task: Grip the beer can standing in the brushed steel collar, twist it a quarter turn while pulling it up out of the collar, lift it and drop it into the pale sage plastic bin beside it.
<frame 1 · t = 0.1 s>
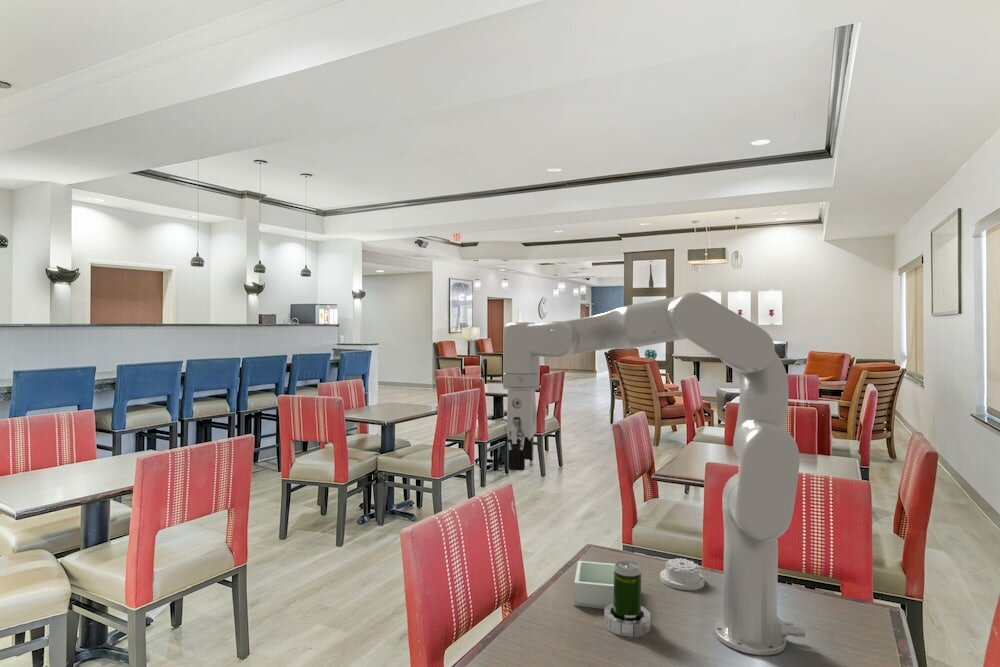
hand: (520, 464, 121), 31 cm above the table, tool pointing down, fingers open, 9 cm apart
collar: (627, 625, 117), on the table
bin: (603, 595, 130), on the table
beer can: (626, 626, 117), resting in collar
mechanical component: (682, 583, 138), on the table
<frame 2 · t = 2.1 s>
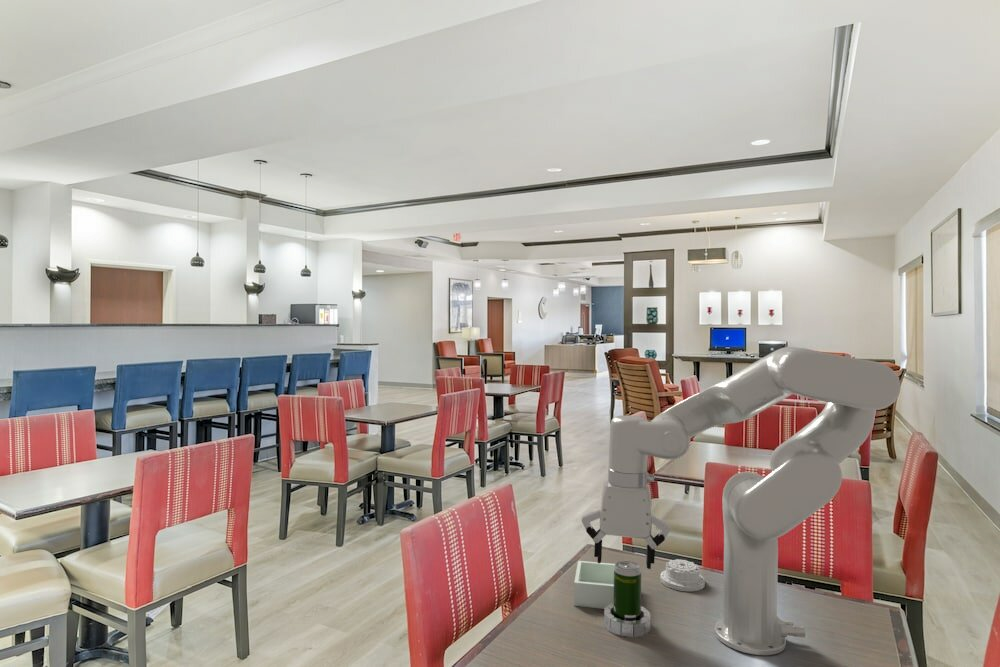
hand: (623, 563, 117), 12 cm above the table, tool pointing down, fingers open, 9 cm apart
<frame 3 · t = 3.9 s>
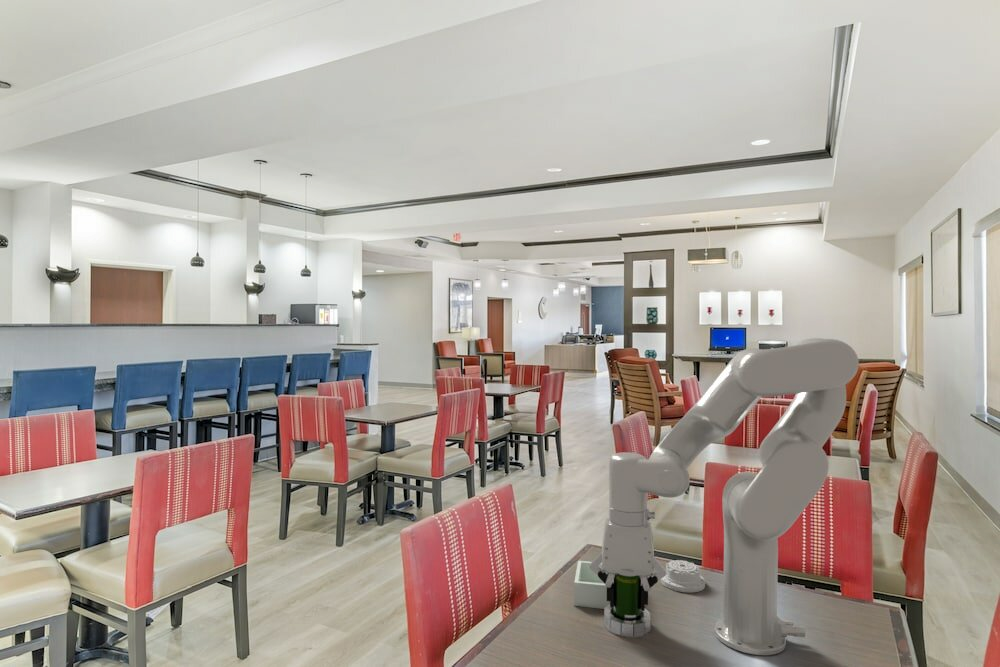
hand: (627, 605, 117), 4 cm above the table, tool pointing down, fingers closed on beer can, 5 cm apart
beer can: (626, 626, 117), resting in collar, touching gripper
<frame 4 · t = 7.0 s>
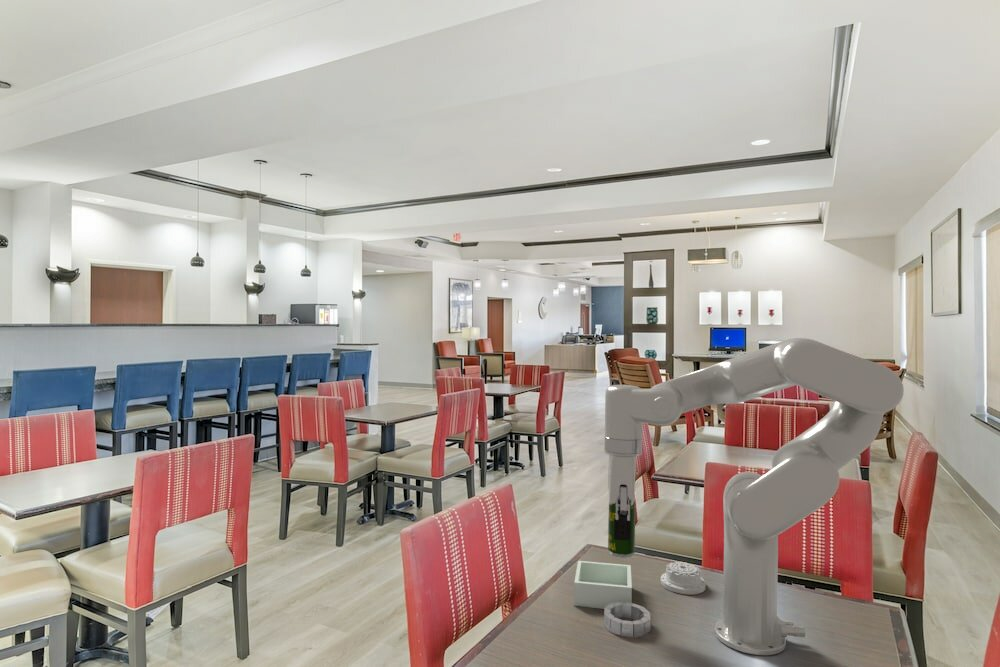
hand: (621, 533, 119), 18 cm above the table, tool pointing down, fingers closed on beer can, 5 cm apart
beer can: (621, 554, 119), point 13 cm above the table, touching gripper
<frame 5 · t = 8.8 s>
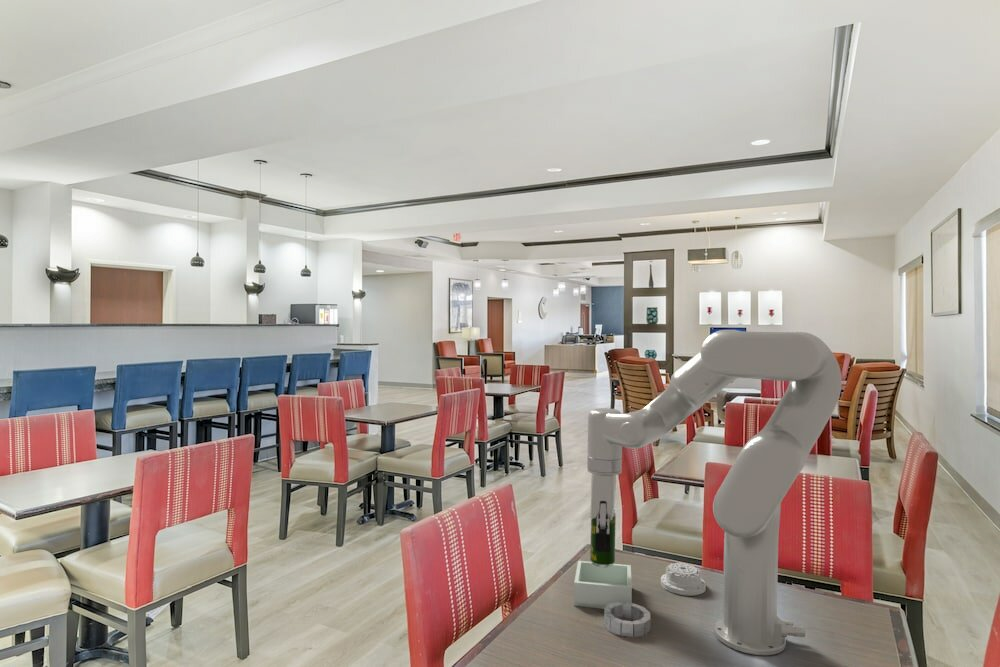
hand: (603, 545, 130), 11 cm above the table, tool pointing down, fingers closed on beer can, 5 cm apart
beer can: (602, 564, 130), point 7 cm above the table, touching gripper
when the fingers open (7 cm above the table, at t = 10.4 s): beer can drops 2 cm, resting on bin.
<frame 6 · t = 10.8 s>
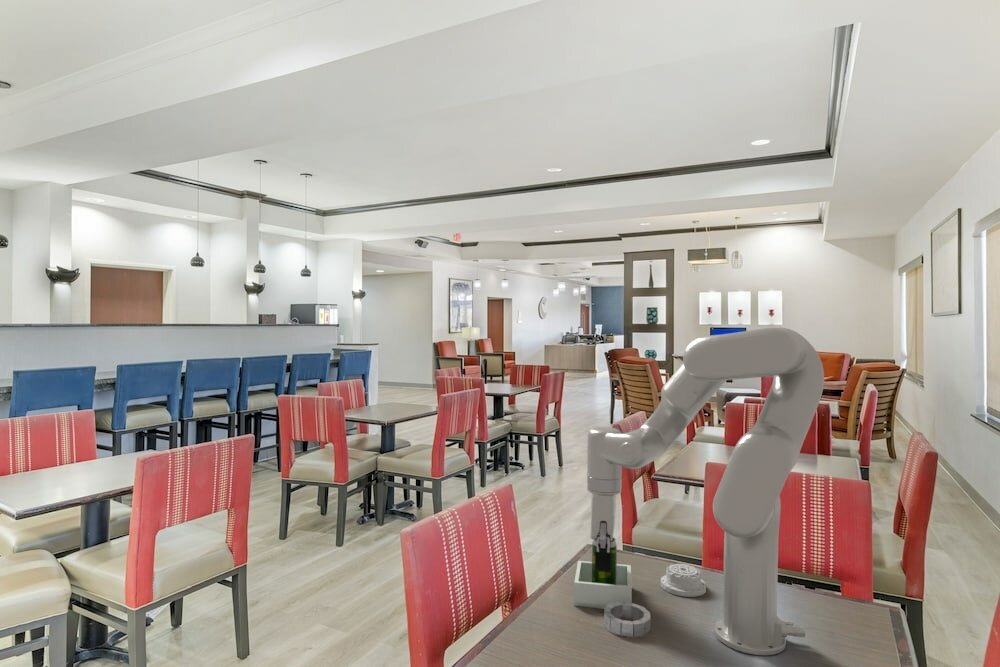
hand: (603, 561, 130), 8 cm above the table, tool pointing down, fingers open, 9 cm apart
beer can: (604, 594, 129), point 1 cm above the table, touching bin
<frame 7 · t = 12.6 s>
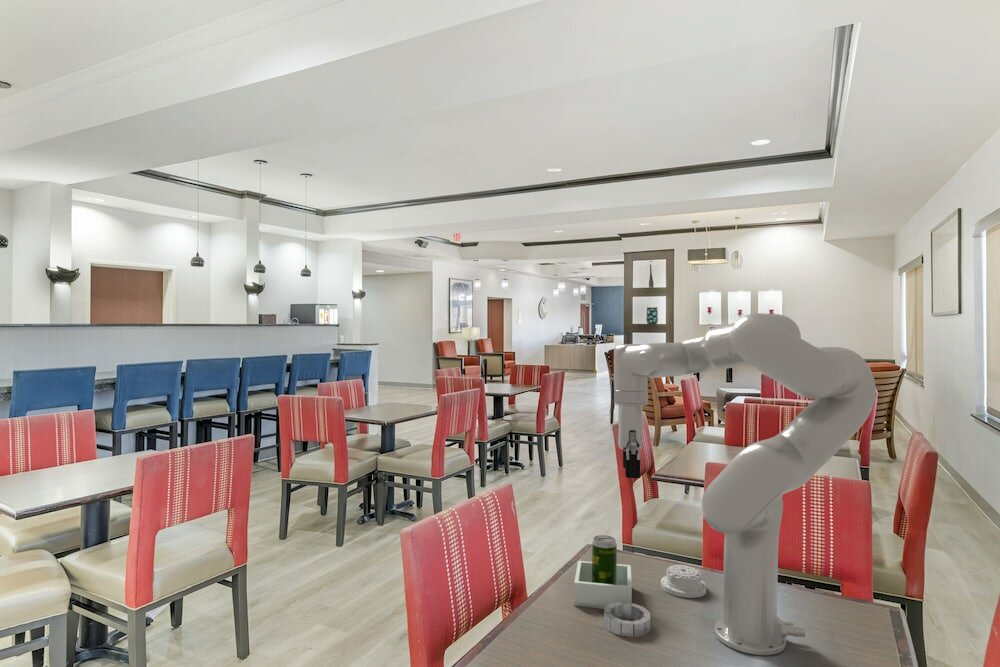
hand: (631, 472, 134), 26 cm above the table, tool pointing down, fingers open, 9 cm apart
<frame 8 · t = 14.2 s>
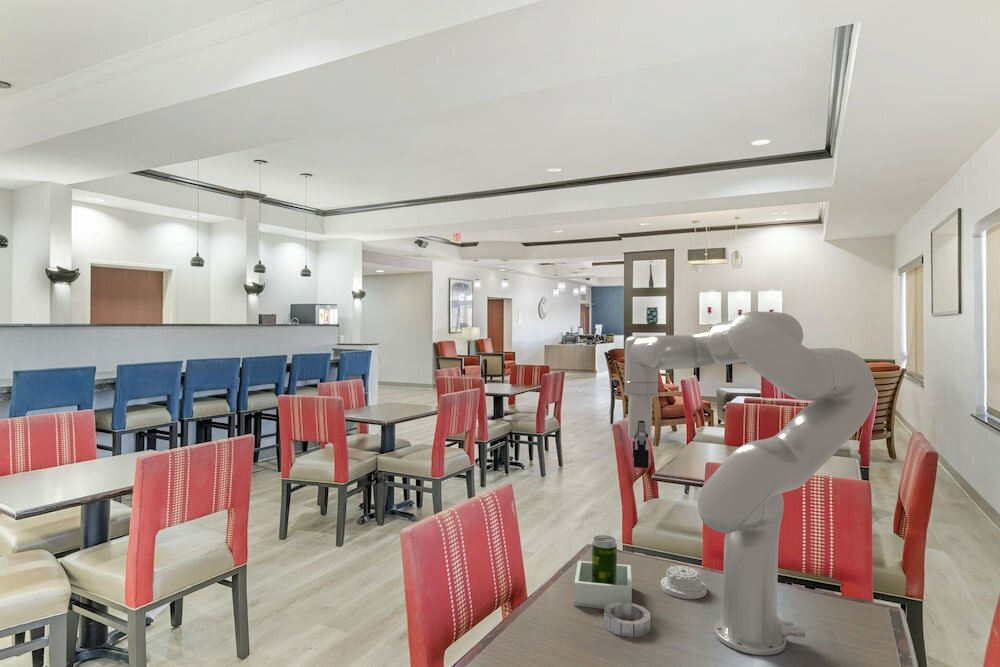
hand: (640, 462, 136), 28 cm above the table, tool pointing down, fingers open, 9 cm apart
at the end: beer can inside the target area on the bin (0.4 cm from its centre), point 0.6 cm above the bin's base; the gripper is holding nothing; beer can moved 12.6 cm from its start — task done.
